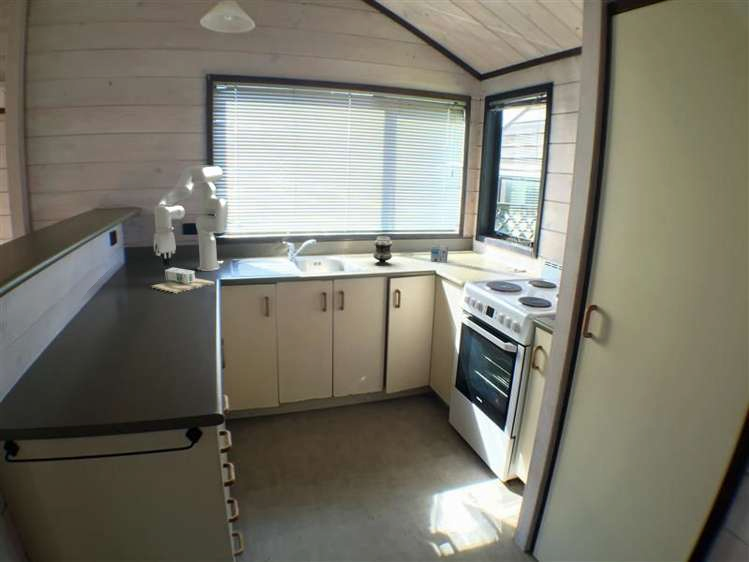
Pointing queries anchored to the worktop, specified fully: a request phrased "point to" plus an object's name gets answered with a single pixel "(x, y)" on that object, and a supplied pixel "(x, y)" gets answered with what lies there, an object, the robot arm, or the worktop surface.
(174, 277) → the syrup box
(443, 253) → the light bulb box
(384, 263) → the apothecary jar
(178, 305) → the worktop surface
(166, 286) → the chopping board
